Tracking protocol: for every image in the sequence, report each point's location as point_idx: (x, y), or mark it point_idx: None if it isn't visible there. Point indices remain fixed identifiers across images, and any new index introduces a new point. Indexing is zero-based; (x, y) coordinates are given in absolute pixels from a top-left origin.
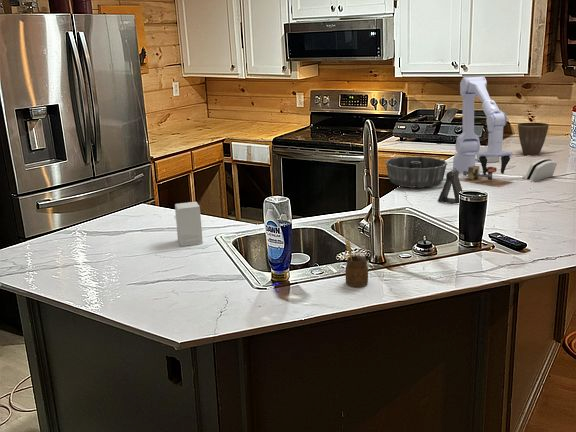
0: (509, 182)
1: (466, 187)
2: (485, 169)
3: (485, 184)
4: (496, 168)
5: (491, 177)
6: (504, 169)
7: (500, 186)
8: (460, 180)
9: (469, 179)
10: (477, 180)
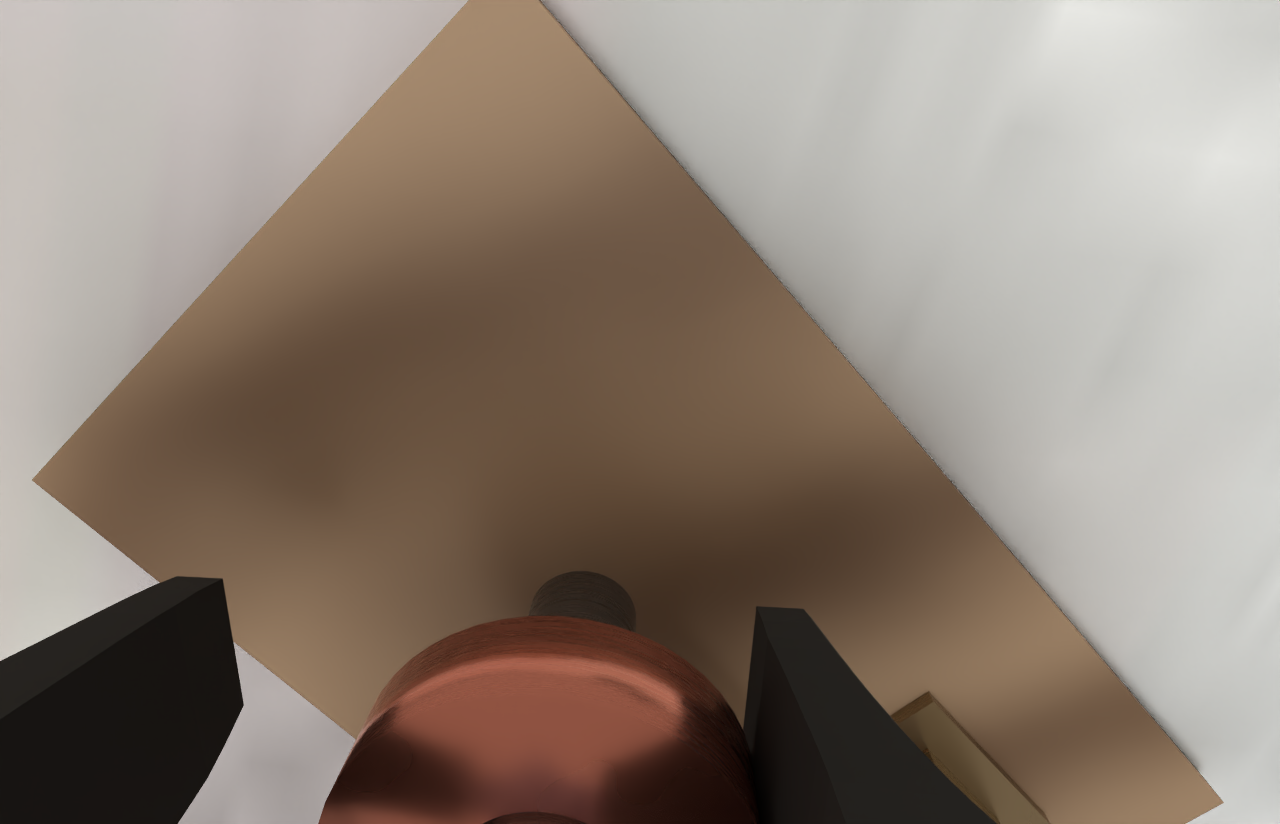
0: (146, 467)
1: (1271, 291)
2: (823, 695)
3: (777, 347)
4: (337, 781)
5: (551, 608)
6: (47, 641)
7: (453, 58)
8: (1174, 780)
9: (974, 793)
10: None
